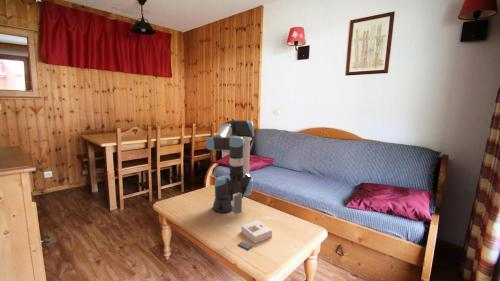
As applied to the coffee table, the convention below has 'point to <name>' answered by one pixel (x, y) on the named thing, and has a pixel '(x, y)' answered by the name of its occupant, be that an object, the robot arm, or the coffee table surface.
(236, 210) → the block
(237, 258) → the coffee table surface
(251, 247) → the phone
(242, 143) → the robot arm
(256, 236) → the outlet plate
